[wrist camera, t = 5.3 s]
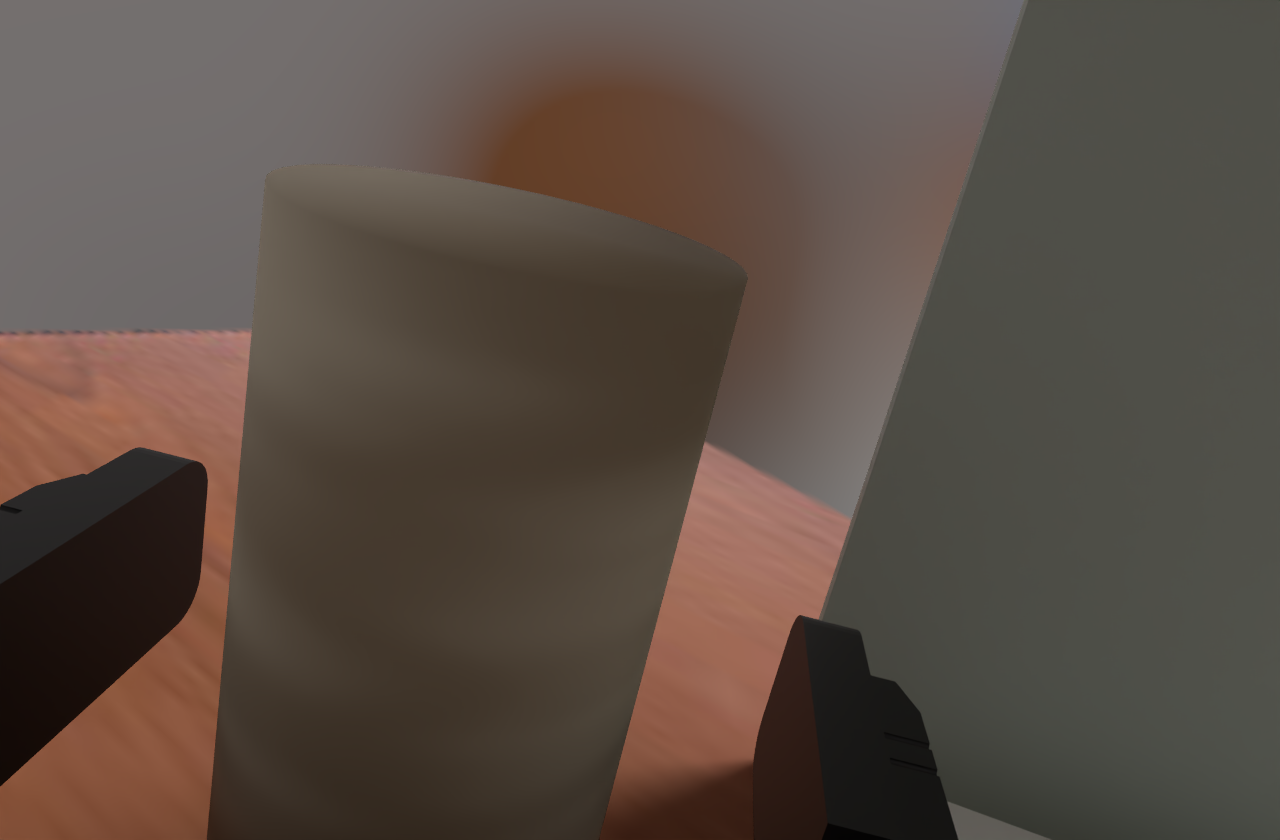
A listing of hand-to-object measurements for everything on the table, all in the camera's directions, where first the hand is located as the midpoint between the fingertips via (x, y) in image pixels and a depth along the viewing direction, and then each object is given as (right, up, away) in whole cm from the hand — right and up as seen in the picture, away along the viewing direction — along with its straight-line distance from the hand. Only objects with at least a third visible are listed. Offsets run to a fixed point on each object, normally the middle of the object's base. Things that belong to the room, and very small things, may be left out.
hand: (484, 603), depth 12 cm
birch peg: (-2, -7, 0) cm, 7 cm away
